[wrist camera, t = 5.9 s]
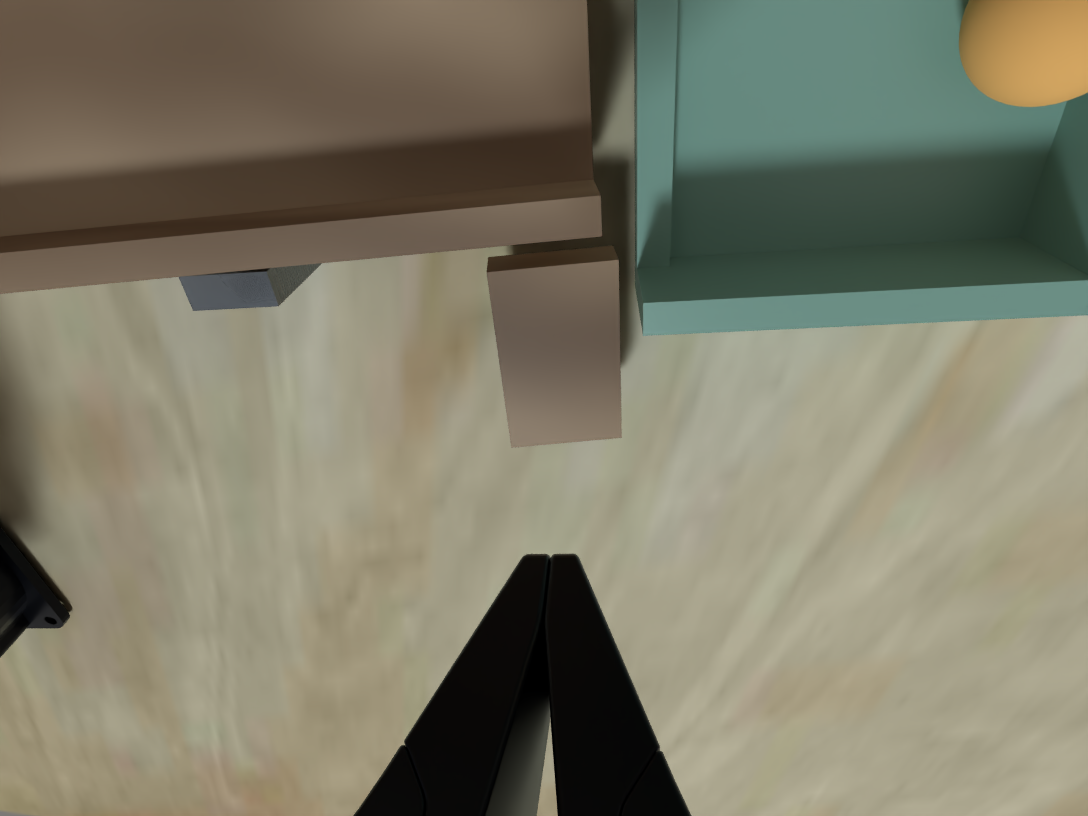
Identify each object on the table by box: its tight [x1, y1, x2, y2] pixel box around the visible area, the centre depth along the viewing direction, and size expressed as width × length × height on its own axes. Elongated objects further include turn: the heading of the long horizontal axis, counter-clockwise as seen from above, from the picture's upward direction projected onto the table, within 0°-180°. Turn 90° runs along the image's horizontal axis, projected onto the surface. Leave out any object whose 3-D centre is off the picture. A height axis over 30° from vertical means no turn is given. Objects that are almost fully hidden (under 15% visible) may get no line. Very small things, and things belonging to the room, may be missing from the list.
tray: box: [634, 0, 1088, 336], centre depth 12 cm, size 11×10×3 cm
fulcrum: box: [179, 263, 322, 311], centre depth 13 cm, size 8×2×4 cm, turn 5°
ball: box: [959, 0, 1088, 107], centre depth 11 cm, size 3×3×3 cm
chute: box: [0, 0, 622, 448], centre depth 13 cm, size 12×16×2 cm
